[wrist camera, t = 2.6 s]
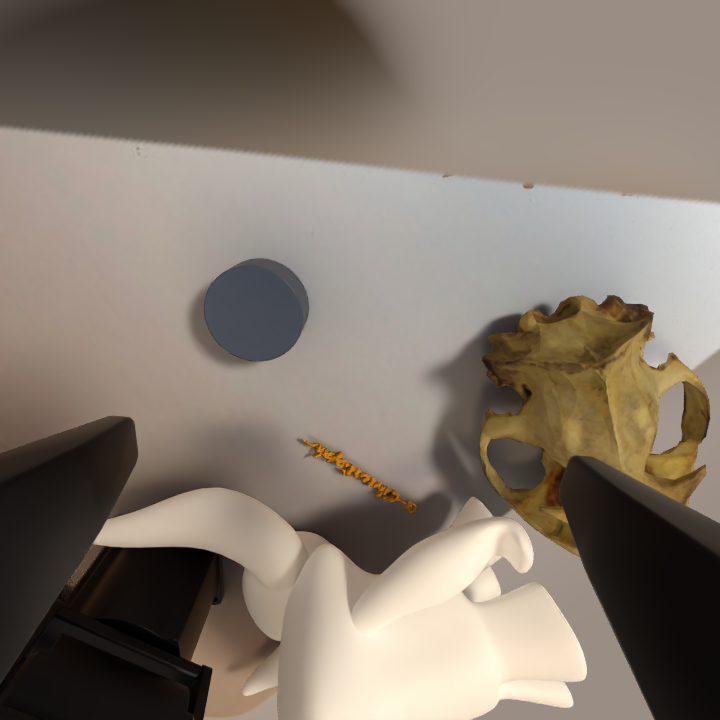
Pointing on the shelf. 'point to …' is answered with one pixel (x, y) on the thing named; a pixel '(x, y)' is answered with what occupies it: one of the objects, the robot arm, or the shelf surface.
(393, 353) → the shelf surface
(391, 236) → the shelf surface
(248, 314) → the short blue cylinder
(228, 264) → the shelf surface
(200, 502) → the toy animal
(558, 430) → the animal skull
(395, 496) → the keychain
